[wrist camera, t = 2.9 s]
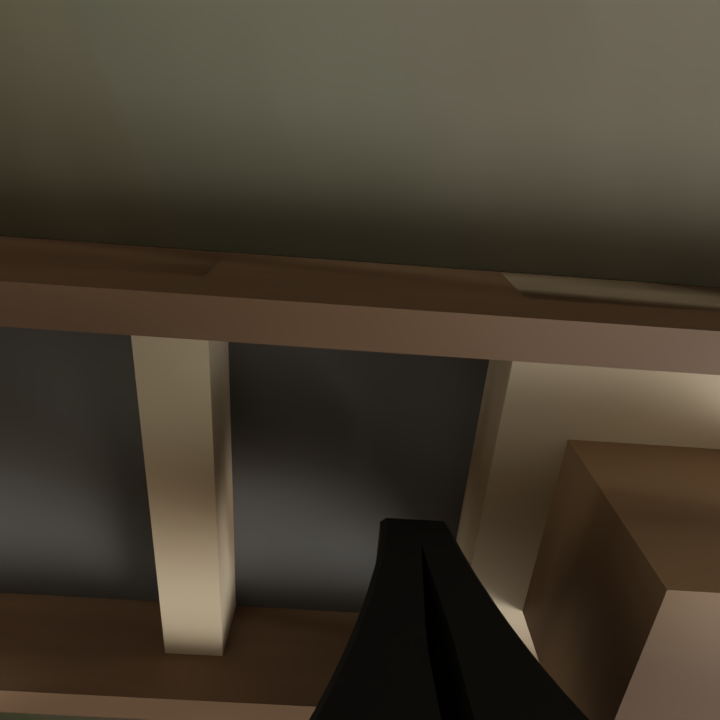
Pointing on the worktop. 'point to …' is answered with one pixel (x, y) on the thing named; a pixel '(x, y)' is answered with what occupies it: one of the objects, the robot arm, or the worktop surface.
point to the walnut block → (631, 582)
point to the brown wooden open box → (290, 453)
